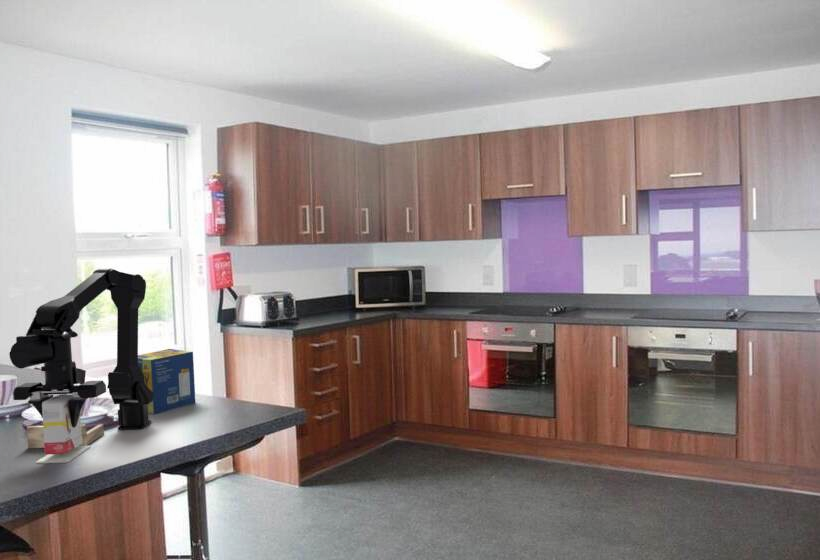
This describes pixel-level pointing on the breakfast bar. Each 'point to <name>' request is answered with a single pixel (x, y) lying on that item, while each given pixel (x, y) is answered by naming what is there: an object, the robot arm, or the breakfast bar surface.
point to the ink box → (59, 426)
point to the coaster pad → (63, 456)
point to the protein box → (168, 378)
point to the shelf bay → (37, 435)
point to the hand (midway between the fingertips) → (62, 427)
